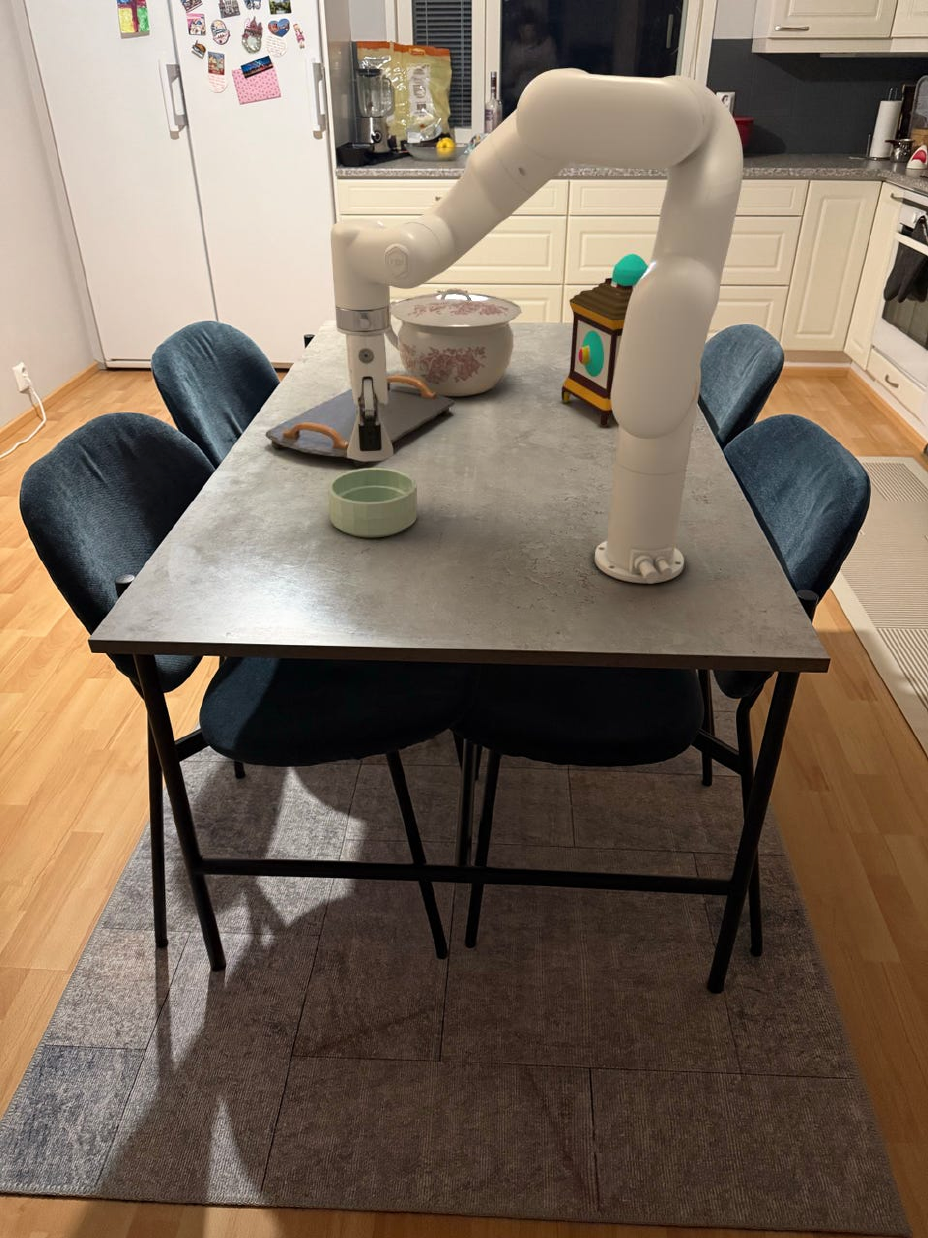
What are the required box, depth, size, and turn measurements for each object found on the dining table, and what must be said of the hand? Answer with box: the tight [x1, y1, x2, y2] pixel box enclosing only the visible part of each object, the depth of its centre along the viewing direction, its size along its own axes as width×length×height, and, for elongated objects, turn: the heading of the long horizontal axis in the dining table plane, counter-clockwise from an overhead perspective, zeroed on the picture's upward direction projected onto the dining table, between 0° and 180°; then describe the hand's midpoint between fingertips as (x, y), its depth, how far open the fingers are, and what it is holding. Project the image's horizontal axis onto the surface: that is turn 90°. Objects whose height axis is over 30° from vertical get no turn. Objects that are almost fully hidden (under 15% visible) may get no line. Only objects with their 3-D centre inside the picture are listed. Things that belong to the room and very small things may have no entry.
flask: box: [346, 386, 395, 462], centre depth 132 cm, size 7×7×10 cm
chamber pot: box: [384, 287, 522, 398], centre depth 191 cm, size 28×28×21 cm
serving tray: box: [264, 375, 456, 469], centre depth 173 cm, size 39×23×6 cm, turn 152°
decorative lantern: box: [560, 253, 649, 428], centre depth 177 cm, size 20×20×30 cm
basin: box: [327, 467, 418, 538], centre depth 139 cm, size 13×13×6 cm
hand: (369, 442), depth 134 cm, fingers closed on flask, 4 cm apart
